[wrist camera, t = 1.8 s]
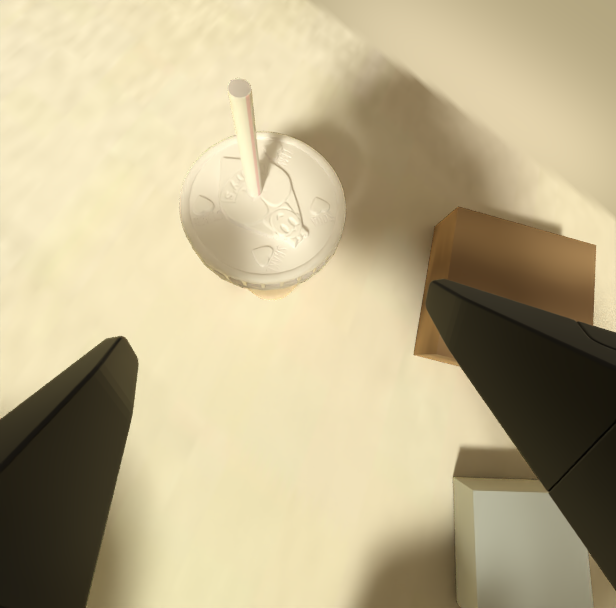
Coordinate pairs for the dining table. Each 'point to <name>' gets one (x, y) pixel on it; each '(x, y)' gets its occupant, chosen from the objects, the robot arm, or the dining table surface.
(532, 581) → the grey tile
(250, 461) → the dining table surface
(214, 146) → the smoothie
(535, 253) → the walnut block
